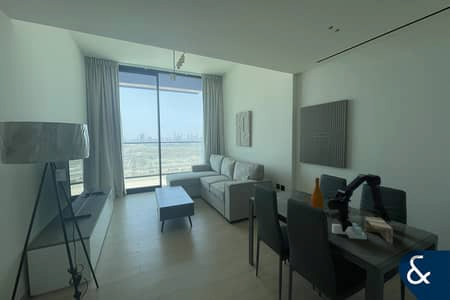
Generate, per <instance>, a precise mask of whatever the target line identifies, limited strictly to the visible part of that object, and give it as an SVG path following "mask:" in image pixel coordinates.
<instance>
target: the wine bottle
mask: <svg viewBox="0 0 450 300" xmlns="http://www.w3.org/2000/svg"><path fill="white" fill-rule="evenodd" d="M314 182H315V187H314V188H313V190H312V194H311V197H310V206H311V205H312V206H314V207H317V208H320V209H322V210H323V211H324V196H323V193H322V192H321V188H320V177H315V179H314Z"/></svg>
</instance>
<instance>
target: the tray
mask: <svg viewBox="0 0 450 300" xmlns="http://www.w3.org/2000/svg"><path fill="white" fill-rule="evenodd" d="M352 224H353V227H349V226H348V228H347V229H346V231H345V232H343V231H342V225H340V223H338V224H336V223H332V224H331V232H332V234H333V233H334V235H335V234H336V235H346V236H347V237H348V238H349V239H355V240H356V239H357V240H368V235H367V234H365V233H364V232H363V227H359V224H358V223H355V222H352Z"/></svg>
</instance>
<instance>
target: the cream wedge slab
mask: <svg viewBox="0 0 450 300" xmlns="http://www.w3.org/2000/svg"><path fill="white" fill-rule="evenodd" d="M364 232H367V233H375V234H377V233H378V234H380V236H382V237H383V238H384V239H385V241H386V242H387V243H388V244H389V245H390V246H393V240H394V239H393V238H394V234H393V233H394V228H393V227H391V226H390V225H389V223H388V224H387V223H386V222H385V221H384V220H382V219H381V218H376V217H373V216H364Z"/></svg>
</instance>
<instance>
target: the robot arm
mask: <svg viewBox="0 0 450 300" xmlns="http://www.w3.org/2000/svg"><path fill="white" fill-rule="evenodd" d="M365 182H366V184H367V185H368V187H369V188H370V191H371V192H370V193H371V196H372V200H373V205H374V206H373V207H371V213H372V215H373V216H374V218H381V219H382V220H384V221H385V222H386V223H387V224H388V225H389V223H391V222H392V220H393V217H392V216H391V215H390V214H389V211H388V209H387V208H386V207H385V206H384V203H383V202H384V201H383V199H382V194H381V193H382V192H381V188H380V186H381V184H382V178H381V176H379V175H378V174H377V175H376V174H371V173H368V174H363V173H359V174H358V175H357V177H355V178H354V179H352V181H351V182H350V183H348V184H347V185H346V186H342V187H340V188H339V189H338V190H337V191H336V193H335V194H334V196H333V198H330V199H329V201H328V202H327V204H326V205H327V208H328V209H329V212H328V215H329V217H330V219H332V220H333V219H337V221H338V224H340V225H342V231H343V232H345V231H346V229H347V228H348V227H353V224H352V223H353V222H352V221H351V220H350V216H349V214H350V209H349V208H350V207H349V203H351V202H352V200H351V197H352V196H353V195H354V191H355V190H357V189H358V188H359V187H360V186H362V184H364V183H365ZM330 210H331V211H330Z"/></svg>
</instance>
